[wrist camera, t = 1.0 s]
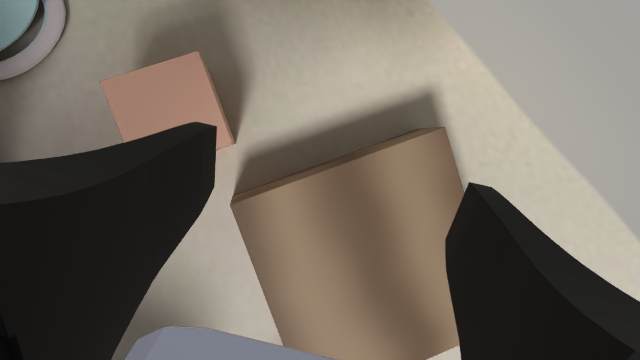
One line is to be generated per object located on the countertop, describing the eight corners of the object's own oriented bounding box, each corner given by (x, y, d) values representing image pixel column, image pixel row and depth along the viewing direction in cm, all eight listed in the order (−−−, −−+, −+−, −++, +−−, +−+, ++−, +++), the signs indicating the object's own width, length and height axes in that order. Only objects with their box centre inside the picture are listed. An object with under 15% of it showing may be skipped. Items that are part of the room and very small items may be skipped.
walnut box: (300, 375, 26) (308, 411, 23) (232, 196, 24) (229, 205, 21) (471, 302, 28) (503, 325, 24) (418, 129, 26) (444, 127, 22)
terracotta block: (161, 169, 24) (138, 176, 19) (131, 94, 23) (99, 81, 18) (235, 143, 24) (232, 144, 19) (208, 69, 24) (197, 50, 19)
